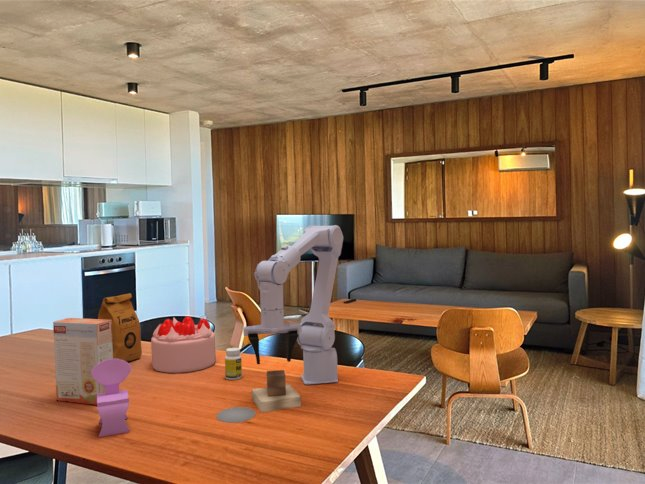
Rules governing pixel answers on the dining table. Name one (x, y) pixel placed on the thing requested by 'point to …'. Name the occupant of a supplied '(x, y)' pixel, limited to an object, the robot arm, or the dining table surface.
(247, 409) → the felt coaster
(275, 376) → the walnut block
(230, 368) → the supplement bottle
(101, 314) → the coffee package
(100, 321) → the cracker box
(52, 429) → the dining table surface
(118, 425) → the toy chair
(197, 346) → the cake
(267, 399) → the maple block
